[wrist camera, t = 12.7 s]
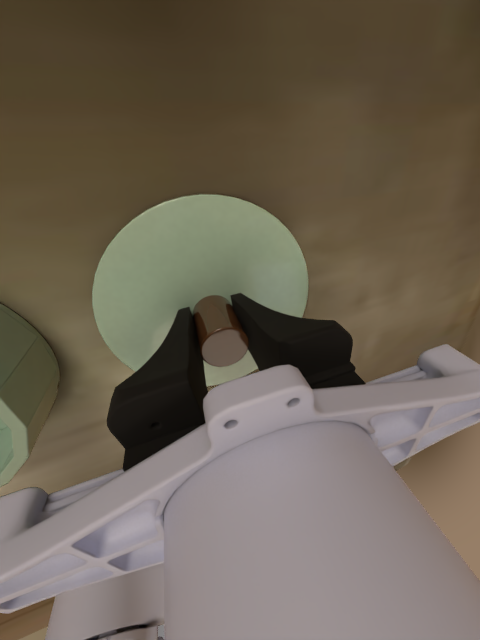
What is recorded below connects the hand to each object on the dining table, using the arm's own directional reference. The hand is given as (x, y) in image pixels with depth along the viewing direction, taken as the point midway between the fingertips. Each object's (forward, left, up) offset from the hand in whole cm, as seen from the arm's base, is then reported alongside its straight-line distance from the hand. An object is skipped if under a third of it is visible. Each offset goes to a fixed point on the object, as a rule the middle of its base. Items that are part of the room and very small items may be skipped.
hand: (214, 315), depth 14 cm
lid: (0, 0, -1) cm, 1 cm away
